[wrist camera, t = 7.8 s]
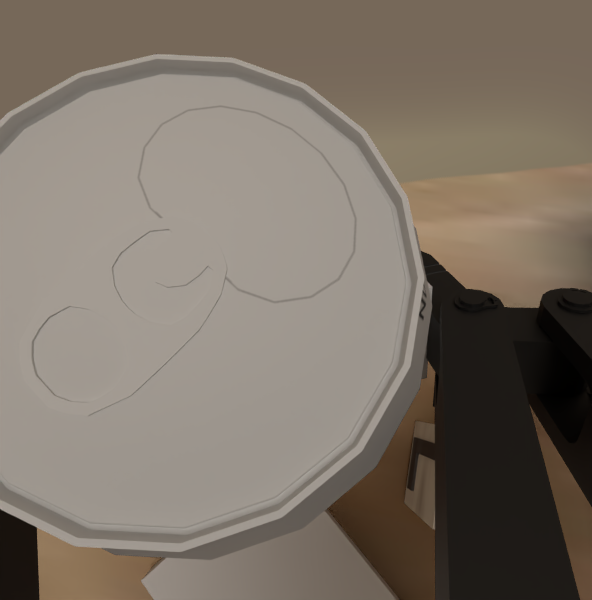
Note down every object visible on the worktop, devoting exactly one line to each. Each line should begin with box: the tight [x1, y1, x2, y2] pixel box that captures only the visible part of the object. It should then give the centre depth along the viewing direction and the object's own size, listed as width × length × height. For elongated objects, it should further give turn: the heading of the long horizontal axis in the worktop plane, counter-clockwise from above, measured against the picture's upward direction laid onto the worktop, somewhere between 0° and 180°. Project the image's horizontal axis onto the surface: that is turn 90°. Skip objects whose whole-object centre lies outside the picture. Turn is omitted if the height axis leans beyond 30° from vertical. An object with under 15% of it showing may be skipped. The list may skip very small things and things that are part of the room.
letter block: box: [404, 421, 435, 530], centre depth 27 cm, size 6×6×6 cm
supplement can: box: [0, 54, 432, 560], centre depth 13 cm, size 8×8×15 cm
